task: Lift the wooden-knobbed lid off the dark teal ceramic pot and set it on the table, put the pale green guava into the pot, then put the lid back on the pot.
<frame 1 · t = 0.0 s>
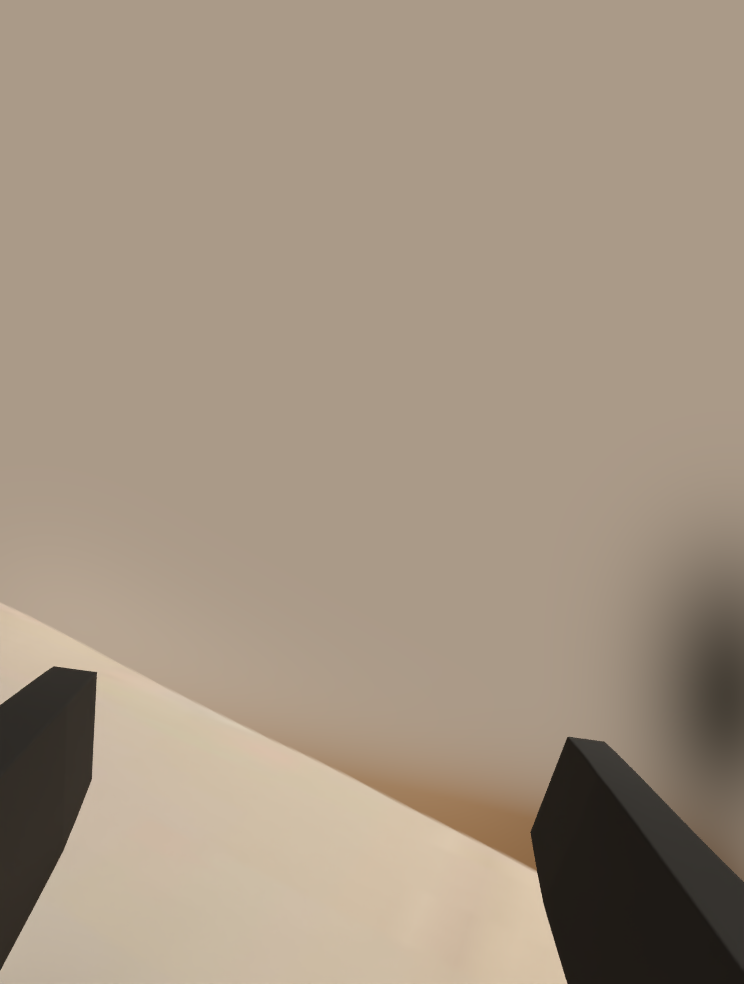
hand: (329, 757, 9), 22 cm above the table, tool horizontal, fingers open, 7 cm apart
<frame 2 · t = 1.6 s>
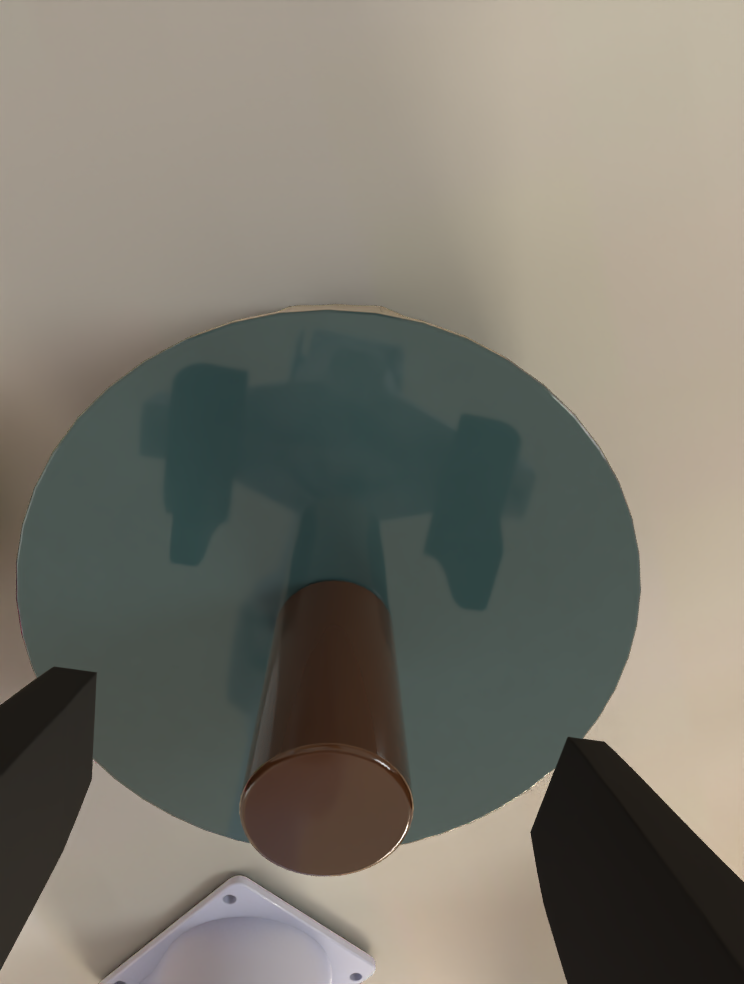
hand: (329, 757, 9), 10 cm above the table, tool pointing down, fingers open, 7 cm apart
pot lid: (334, 616, 13), point 6 cm above the table, touching pot
pot: (339, 502, 19), on the table
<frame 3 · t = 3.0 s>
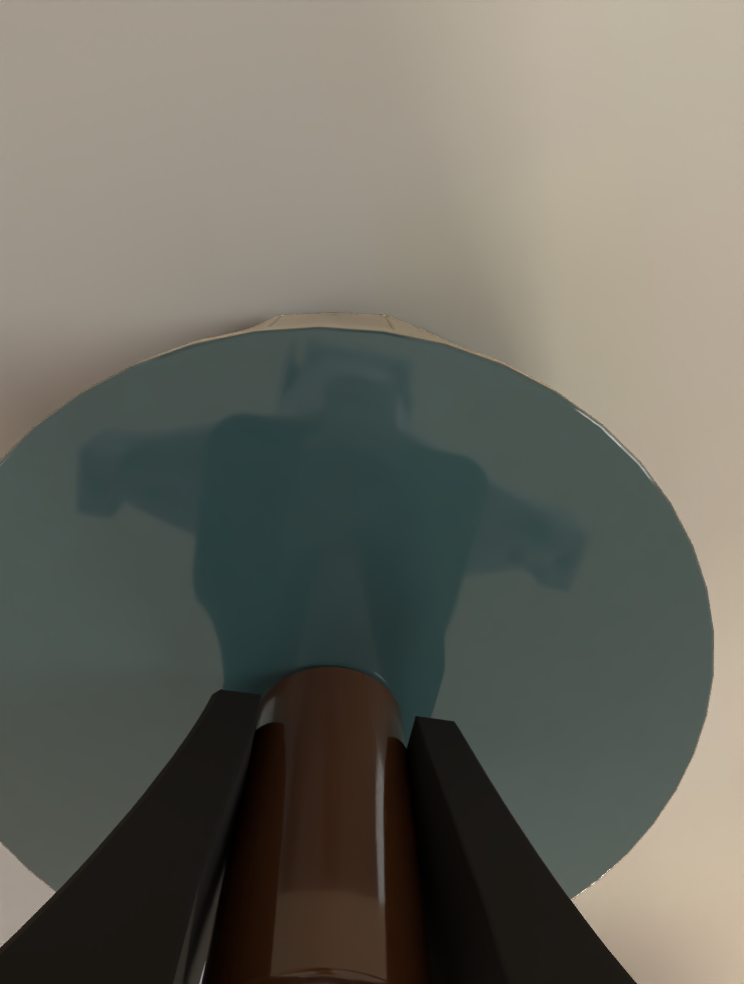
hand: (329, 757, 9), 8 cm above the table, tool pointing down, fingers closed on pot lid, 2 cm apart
pot lid: (330, 703, 11), point 6 cm above the table, touching gripper, pot
pot: (338, 539, 17), on the table
when the fingers open (2 cm above the table, at t = 6.9 s): pot lid stays where it is, point 1 cm above the table.
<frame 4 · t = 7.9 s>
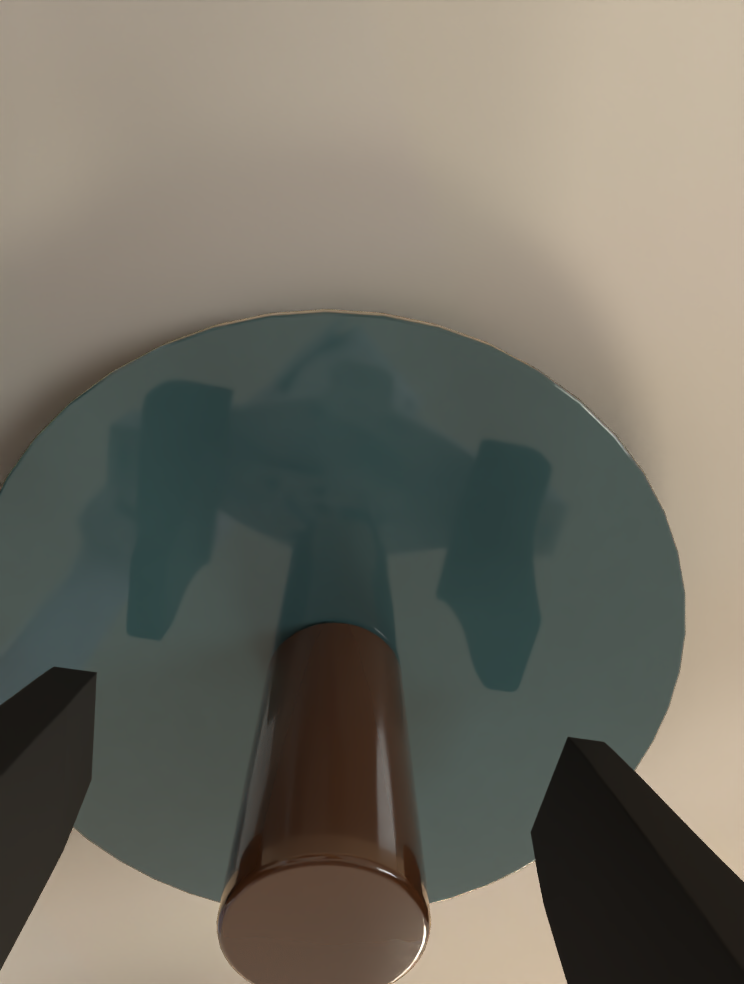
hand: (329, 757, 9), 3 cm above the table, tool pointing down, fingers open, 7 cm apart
pot lid: (335, 660, 12), point 1 cm above the table
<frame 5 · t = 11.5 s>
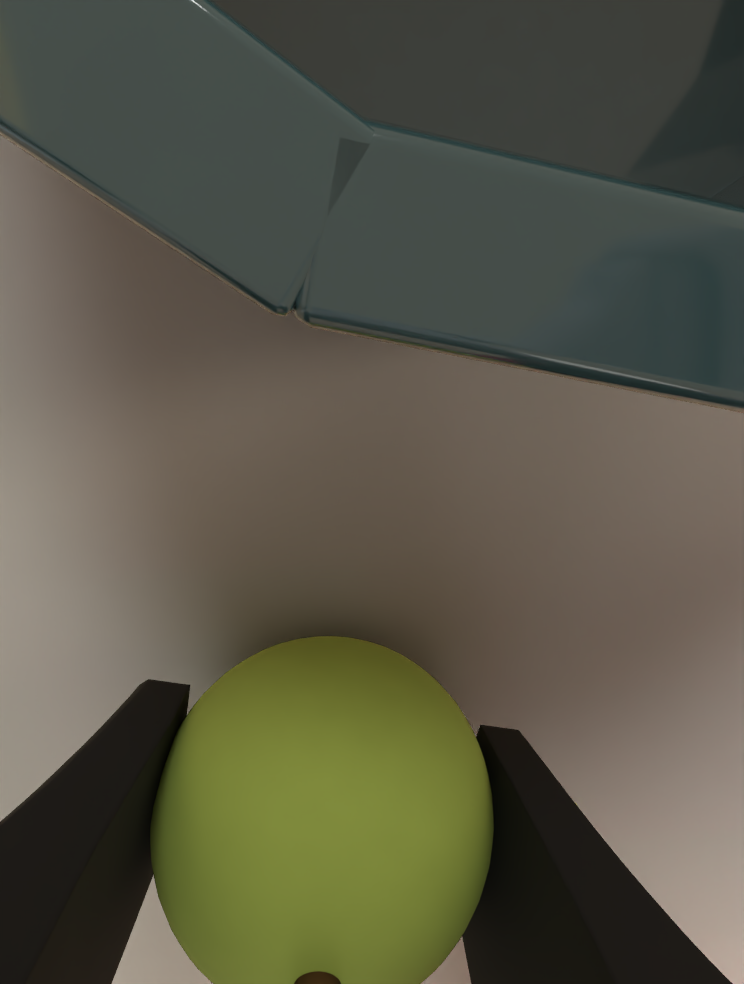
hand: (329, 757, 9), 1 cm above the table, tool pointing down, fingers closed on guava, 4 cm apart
guava: (330, 695, 11), on the table, touching gripper
when the fingers open (3 cm above the table, at t = 16.7 s): guava drops 1 cm, resting on pot.
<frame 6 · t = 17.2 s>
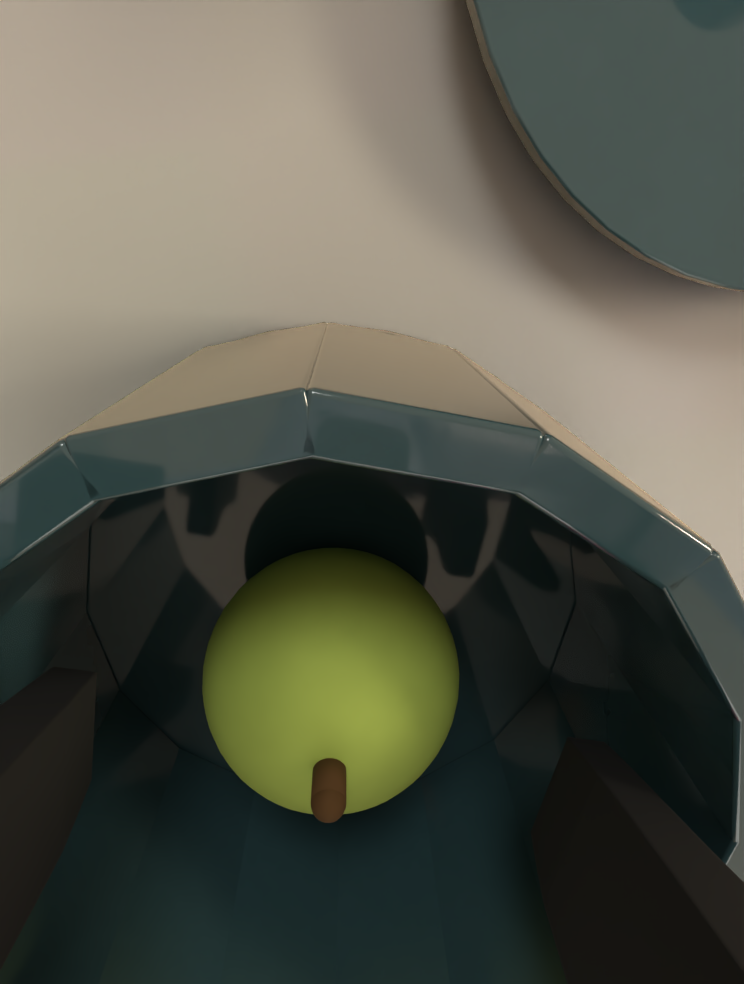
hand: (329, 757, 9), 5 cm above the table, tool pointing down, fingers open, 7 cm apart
pot: (334, 594, 14), on the table
guava: (334, 606, 13), resting on pot
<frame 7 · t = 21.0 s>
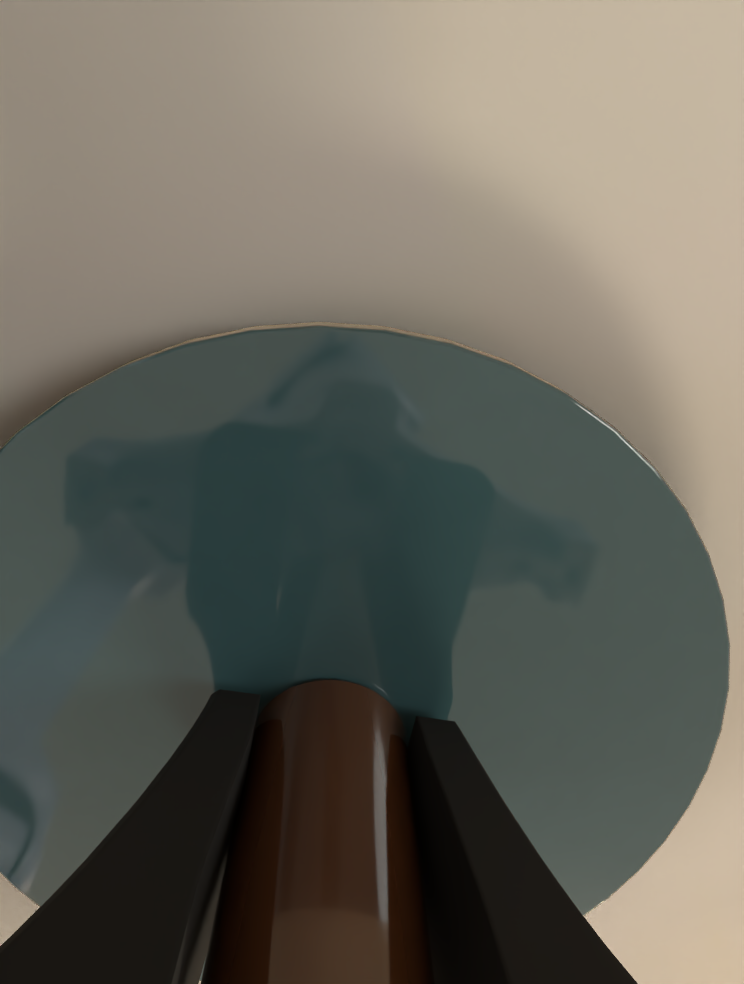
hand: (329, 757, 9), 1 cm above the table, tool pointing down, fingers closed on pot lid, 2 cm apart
pot lid: (330, 717, 10), point 1 cm above the table, touching gripper
when the fingers open (7 cm above the table, at t = 26.2 s): pot lid stays where it is, resting on pot.
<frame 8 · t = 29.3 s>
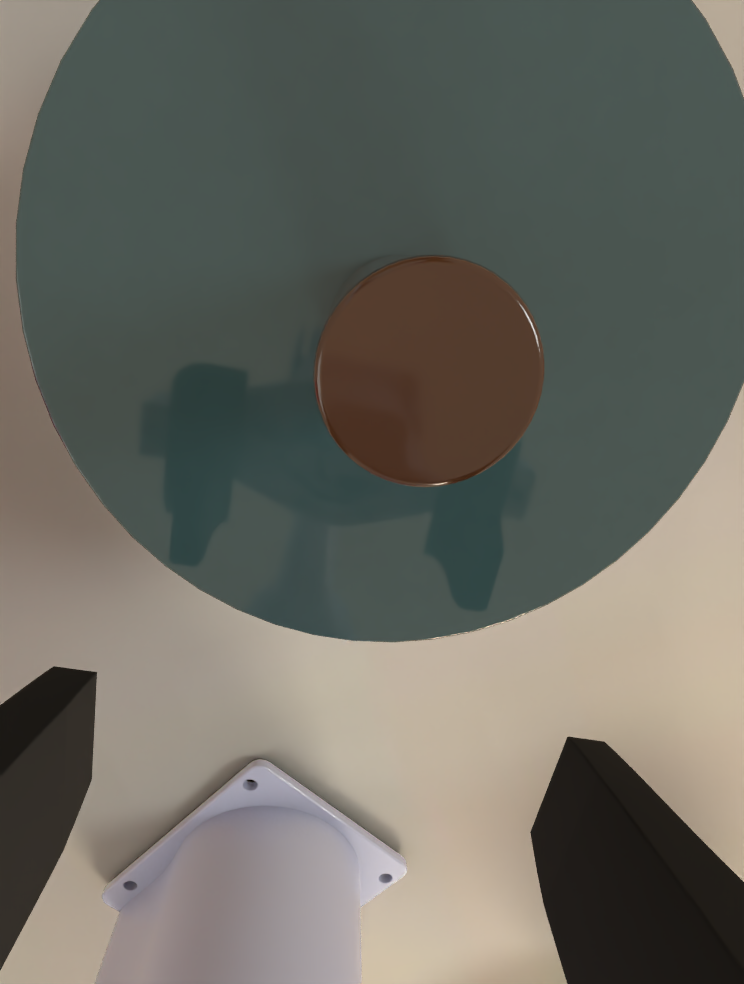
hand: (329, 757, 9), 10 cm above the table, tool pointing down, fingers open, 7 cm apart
pot lid: (396, 327, 11), point 6 cm above the table, touching pot
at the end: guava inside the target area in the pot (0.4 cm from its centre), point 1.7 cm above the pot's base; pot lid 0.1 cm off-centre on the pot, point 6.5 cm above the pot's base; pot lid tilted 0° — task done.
